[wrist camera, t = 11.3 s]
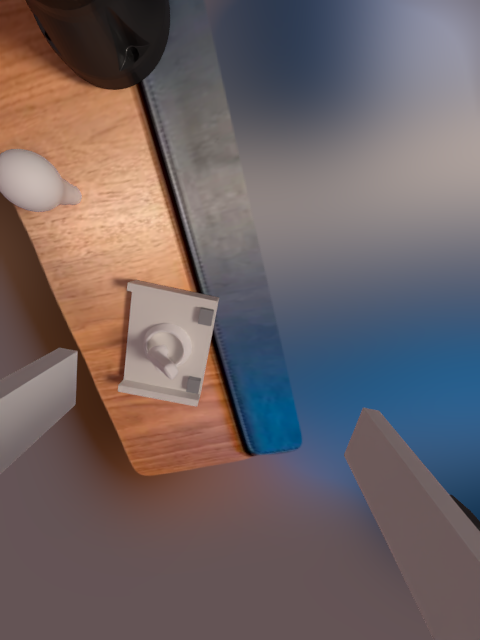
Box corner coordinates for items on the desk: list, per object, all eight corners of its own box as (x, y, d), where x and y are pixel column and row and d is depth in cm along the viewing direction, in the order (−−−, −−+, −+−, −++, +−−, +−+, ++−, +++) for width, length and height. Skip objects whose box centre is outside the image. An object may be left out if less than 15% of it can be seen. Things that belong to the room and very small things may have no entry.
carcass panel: (136, 279, 39) (127, 282, 36) (219, 297, 39) (217, 301, 36) (126, 381, 44) (117, 391, 41) (200, 396, 44) (197, 406, 41)
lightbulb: (99, 221, 36) (40, 210, 26) (57, 217, 36) (-20, 204, 26) (96, 174, 35) (32, 141, 24) (52, 170, 35) (-32, 135, 24)
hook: (225, 364, 35) (186, 401, 33) (189, 346, 45) (157, 374, 42) (197, 323, 32) (152, 360, 29) (165, 313, 42) (129, 341, 39)
